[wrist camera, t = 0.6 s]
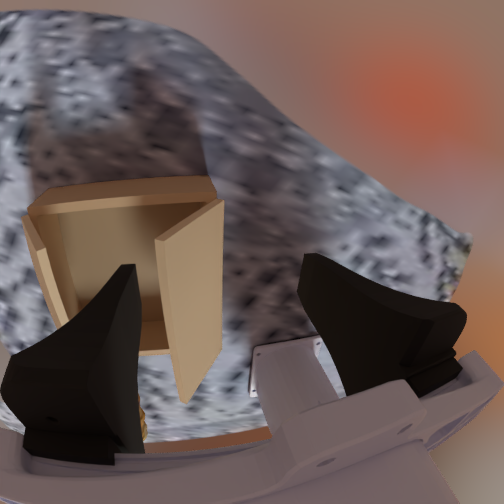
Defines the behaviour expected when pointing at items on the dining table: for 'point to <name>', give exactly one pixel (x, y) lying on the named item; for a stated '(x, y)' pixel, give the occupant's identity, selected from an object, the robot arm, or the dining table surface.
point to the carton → (115, 238)
